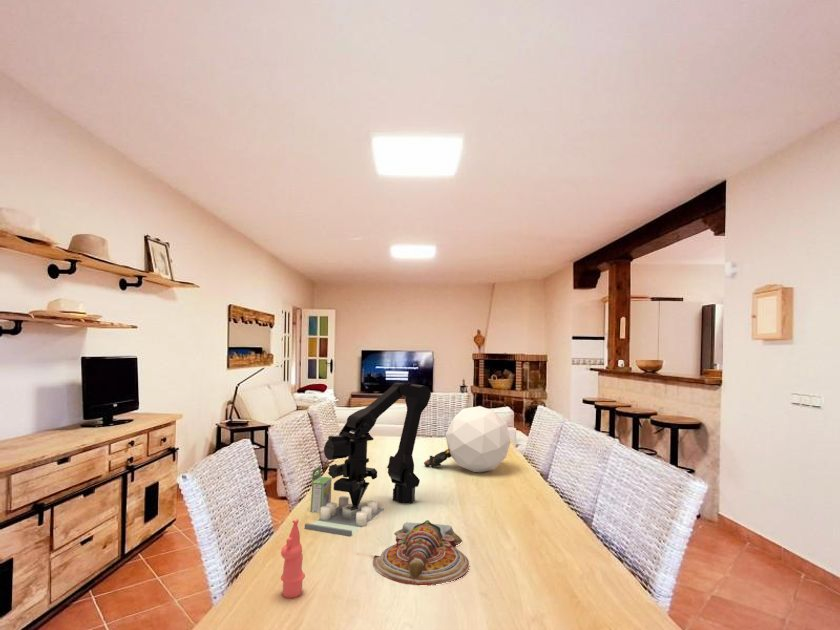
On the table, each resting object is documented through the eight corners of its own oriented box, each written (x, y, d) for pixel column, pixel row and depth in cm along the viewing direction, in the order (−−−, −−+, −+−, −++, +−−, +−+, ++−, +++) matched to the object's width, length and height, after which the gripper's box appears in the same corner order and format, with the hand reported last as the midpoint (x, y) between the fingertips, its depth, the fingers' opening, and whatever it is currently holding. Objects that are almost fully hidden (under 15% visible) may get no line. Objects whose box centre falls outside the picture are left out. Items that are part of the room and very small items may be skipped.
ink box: (322, 516, 146) (324, 471, 147) (309, 515, 147) (311, 470, 148) (330, 509, 153) (332, 466, 154) (319, 507, 154) (320, 465, 155)
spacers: (382, 511, 149) (382, 501, 149) (363, 527, 136) (364, 515, 136) (340, 505, 153) (340, 495, 153) (318, 519, 140) (318, 508, 141)
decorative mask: (472, 511, 134) (469, 558, 105) (472, 538, 134) (468, 594, 104) (389, 504, 137) (362, 548, 108) (388, 531, 137) (361, 583, 107)
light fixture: (522, 456, 189) (488, 391, 198) (433, 501, 193) (403, 436, 202) (524, 453, 215) (493, 396, 223) (445, 493, 218) (418, 435, 227)
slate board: (384, 512, 152) (384, 504, 152) (350, 540, 129) (350, 531, 129) (344, 506, 156) (344, 499, 156) (304, 532, 133) (304, 524, 134)
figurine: (281, 586, 103) (285, 514, 104) (306, 586, 104) (309, 514, 105) (276, 599, 98) (280, 523, 99) (302, 598, 99) (305, 523, 100)
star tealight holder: (345, 512, 147) (345, 504, 148) (361, 514, 146) (361, 506, 146) (338, 517, 143) (338, 508, 143) (354, 519, 141) (355, 511, 142)
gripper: (347, 447, 160) (345, 495, 159) (318, 459, 143) (316, 513, 142) (378, 451, 157) (376, 500, 156) (352, 463, 139) (350, 519, 138)
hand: (355, 507), depth 148 cm, fingers closed
